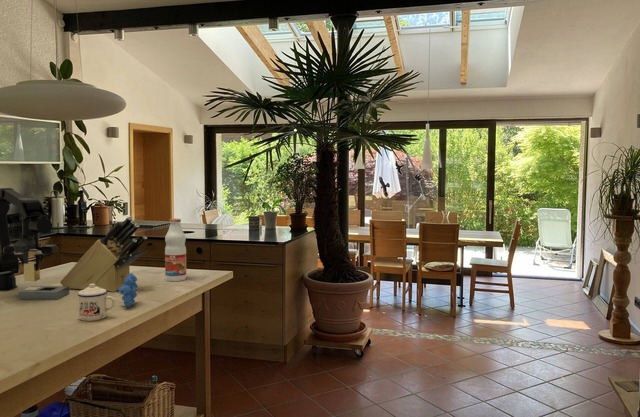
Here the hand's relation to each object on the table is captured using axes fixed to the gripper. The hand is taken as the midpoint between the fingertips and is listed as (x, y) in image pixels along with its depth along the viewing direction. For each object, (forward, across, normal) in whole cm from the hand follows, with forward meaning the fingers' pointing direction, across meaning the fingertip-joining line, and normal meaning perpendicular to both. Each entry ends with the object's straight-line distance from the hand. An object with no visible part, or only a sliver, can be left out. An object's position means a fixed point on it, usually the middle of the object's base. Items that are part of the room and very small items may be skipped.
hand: (31, 270), depth 201 cm
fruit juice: (+10, +48, +32) cm, 59 cm away
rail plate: (+10, +5, 0) cm, 11 cm away
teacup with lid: (+10, +37, -28) cm, 48 cm away
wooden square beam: (+4, 0, 0) cm, 4 cm away
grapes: (+10, +42, -13) cm, 45 cm away
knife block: (+10, +23, +14) cm, 29 cm away
